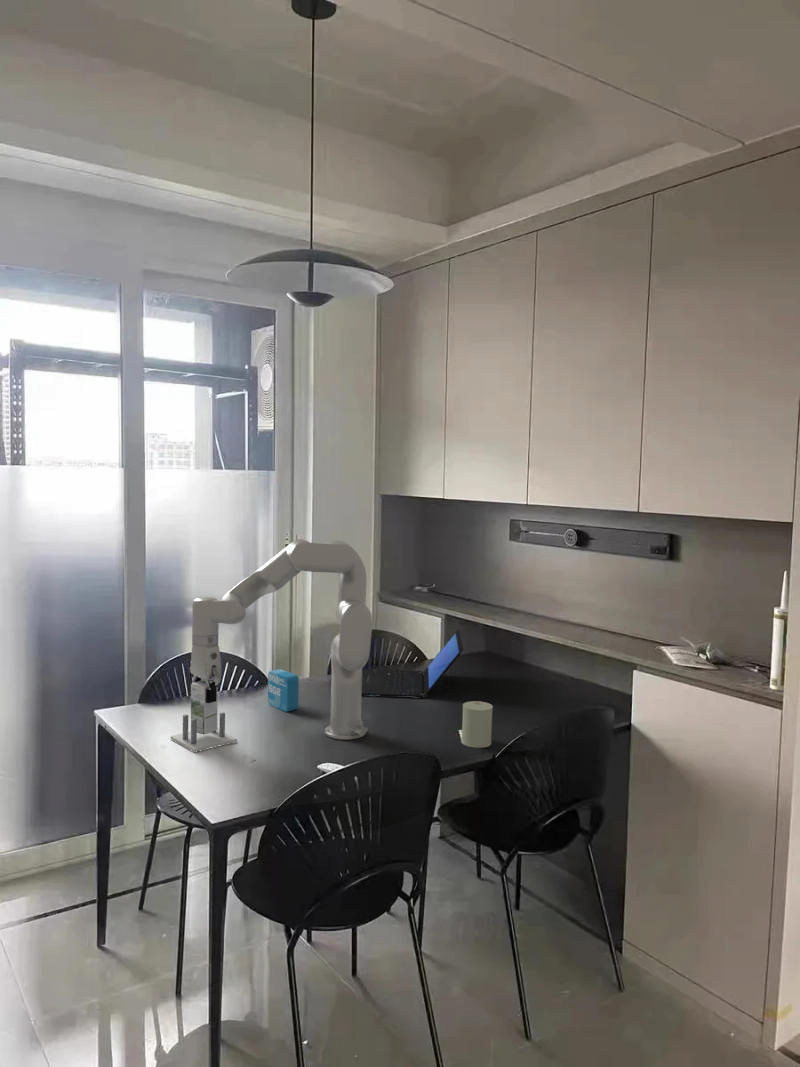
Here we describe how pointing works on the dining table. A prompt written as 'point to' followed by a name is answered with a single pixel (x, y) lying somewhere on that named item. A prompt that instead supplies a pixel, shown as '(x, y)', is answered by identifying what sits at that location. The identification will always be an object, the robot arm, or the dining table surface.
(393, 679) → the laptop
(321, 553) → the robot arm
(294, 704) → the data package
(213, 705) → the syrup box
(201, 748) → the peg stand
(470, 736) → the can
